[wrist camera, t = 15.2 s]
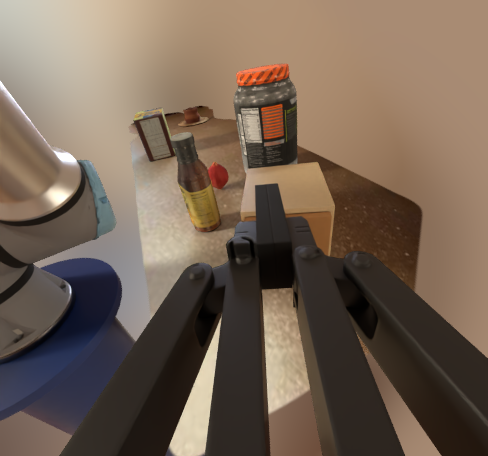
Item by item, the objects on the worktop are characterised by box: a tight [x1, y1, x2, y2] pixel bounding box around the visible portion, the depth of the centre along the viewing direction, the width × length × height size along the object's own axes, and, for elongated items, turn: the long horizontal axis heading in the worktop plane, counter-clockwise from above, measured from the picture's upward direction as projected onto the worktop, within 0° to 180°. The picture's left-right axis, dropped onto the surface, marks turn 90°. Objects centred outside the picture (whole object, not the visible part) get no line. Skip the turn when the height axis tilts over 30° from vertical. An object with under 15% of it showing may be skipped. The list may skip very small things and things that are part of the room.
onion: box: [208, 162, 228, 189], centre depth 65 cm, size 6×6×8 cm
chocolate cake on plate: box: [178, 107, 208, 126], centre depth 136 cm, size 18×18×7 cm
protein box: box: [134, 108, 175, 161], centre depth 96 cm, size 10×15×16 cm
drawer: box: [244, 211, 332, 256], centre depth 42 cm, size 19×13×9 cm, turn 175°
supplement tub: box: [234, 64, 297, 173], centre depth 64 cm, size 16×16×26 cm
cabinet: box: [240, 162, 335, 256], centre depth 45 cm, size 16×14×11 cm
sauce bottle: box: [170, 132, 221, 232], centre depth 48 cm, size 7×6×20 cm
